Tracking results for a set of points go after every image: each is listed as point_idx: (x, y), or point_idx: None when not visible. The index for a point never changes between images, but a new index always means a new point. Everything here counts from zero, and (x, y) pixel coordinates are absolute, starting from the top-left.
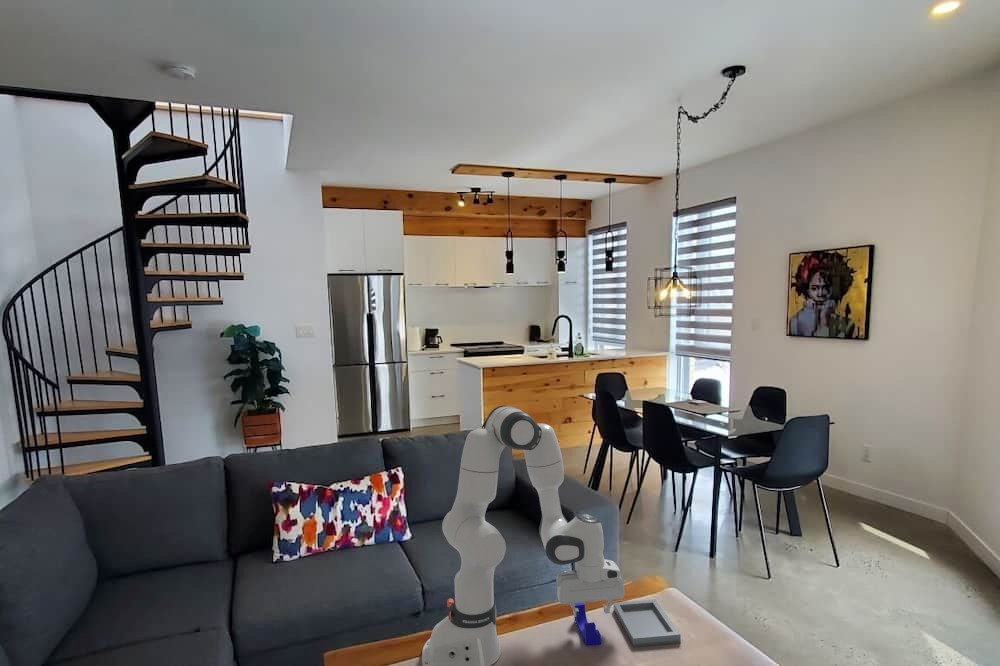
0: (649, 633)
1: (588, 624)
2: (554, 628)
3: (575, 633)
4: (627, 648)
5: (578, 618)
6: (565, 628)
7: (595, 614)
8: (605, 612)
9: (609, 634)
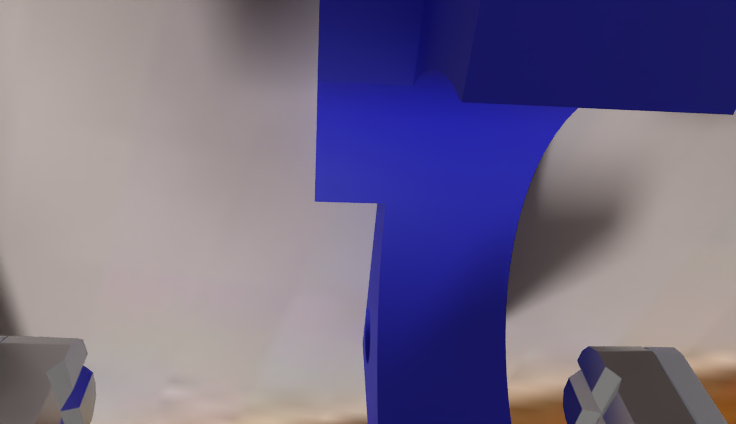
0: None
1: (662, 42)
2: (719, 290)
3: (561, 183)
4: None
5: (485, 348)
6: (615, 272)
7: (212, 391)
8: (61, 355)
9: (122, 76)
